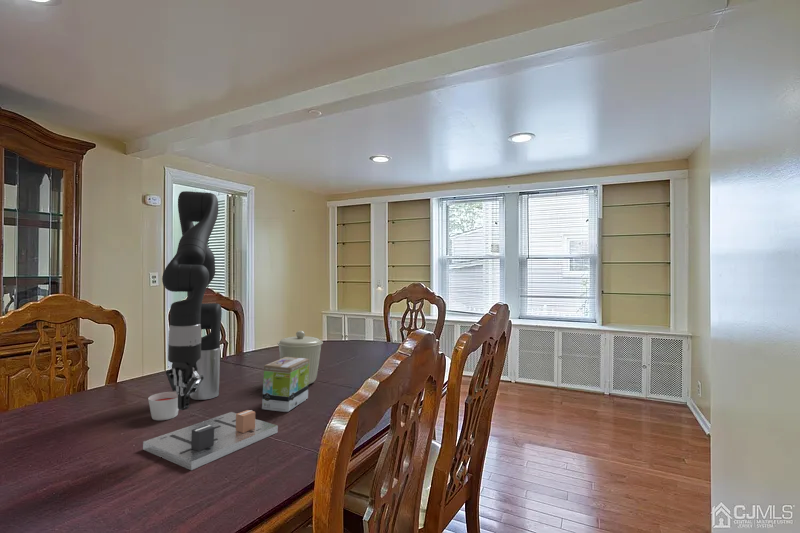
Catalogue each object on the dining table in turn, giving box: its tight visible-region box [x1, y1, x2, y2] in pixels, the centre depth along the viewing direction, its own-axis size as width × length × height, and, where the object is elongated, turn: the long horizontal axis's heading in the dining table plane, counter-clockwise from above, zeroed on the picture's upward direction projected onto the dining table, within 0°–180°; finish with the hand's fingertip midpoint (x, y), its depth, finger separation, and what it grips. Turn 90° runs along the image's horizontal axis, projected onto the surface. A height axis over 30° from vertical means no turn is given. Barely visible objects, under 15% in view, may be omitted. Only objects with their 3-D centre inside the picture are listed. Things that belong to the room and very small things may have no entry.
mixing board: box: [142, 411, 279, 471], centre depth 110 cm, size 20×26×2 cm
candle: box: [147, 391, 180, 421], centre depth 127 cm, size 9×9×6 cm
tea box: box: [261, 357, 310, 413], centre depth 141 cm, size 15×10×15 cm
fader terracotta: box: [236, 409, 256, 433], centre depth 113 cm, size 3×4×5 cm
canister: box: [276, 330, 324, 385], centre depth 167 cm, size 18×18×21 cm
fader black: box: [191, 425, 214, 451], centre depth 101 cm, size 3×4×5 cm
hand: (183, 408), depth 106 cm, fingers closed
